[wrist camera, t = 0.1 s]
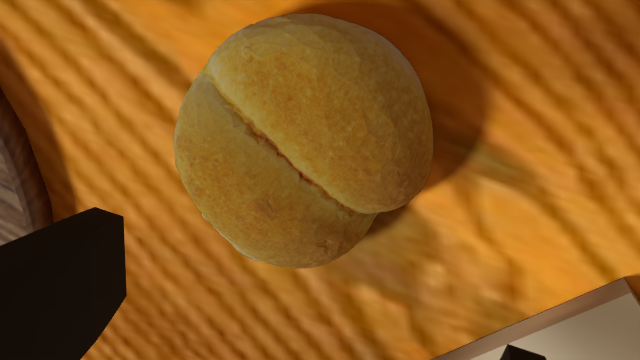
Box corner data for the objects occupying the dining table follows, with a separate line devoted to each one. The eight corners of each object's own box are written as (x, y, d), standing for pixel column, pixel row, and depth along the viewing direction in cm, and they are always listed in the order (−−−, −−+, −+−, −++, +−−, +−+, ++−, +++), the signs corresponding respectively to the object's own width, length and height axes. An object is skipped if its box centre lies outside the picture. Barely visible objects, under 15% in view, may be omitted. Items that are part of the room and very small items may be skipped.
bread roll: (482, 131, 19) (484, 169, 15) (306, 274, 23) (274, 332, 19) (311, -51, 18) (271, -57, 15) (160, 127, 22) (97, 158, 18)
